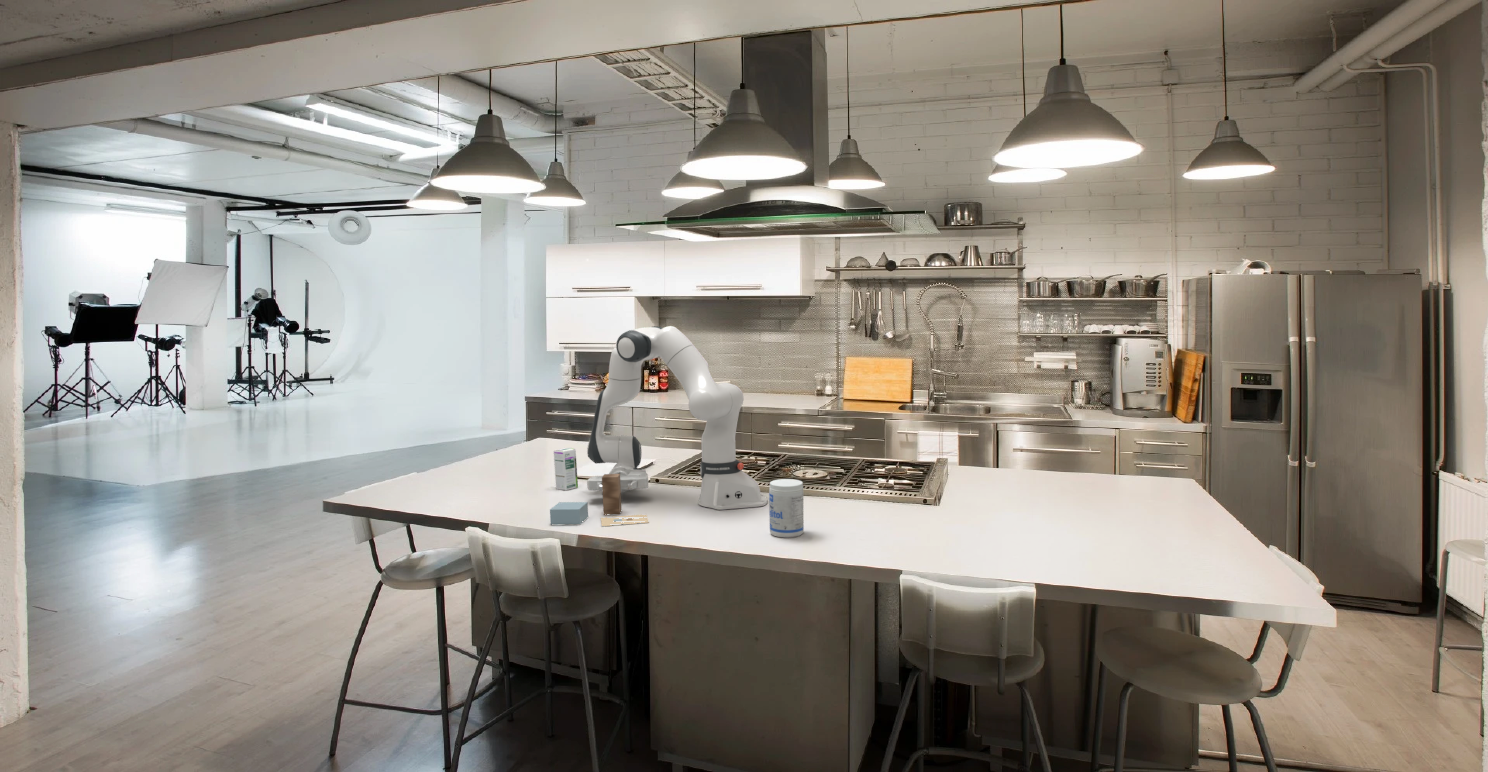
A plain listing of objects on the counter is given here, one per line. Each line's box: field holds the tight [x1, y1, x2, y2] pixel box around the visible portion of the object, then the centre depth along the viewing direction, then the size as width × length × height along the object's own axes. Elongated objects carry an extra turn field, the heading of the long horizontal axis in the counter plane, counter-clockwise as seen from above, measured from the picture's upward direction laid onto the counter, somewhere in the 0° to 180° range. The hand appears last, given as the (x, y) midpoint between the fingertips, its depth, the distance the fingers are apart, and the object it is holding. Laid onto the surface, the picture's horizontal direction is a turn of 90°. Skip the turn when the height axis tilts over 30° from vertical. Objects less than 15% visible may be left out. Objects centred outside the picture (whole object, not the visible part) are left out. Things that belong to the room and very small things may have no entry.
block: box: [601, 473, 623, 516], centre depth 252 cm, size 5×5×12 cm
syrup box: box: [553, 447, 579, 491], centre depth 289 cm, size 6×6×14 cm
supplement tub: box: [768, 478, 805, 539], centre depth 223 cm, size 10×10×15 cm
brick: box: [549, 501, 589, 526], centre depth 244 cm, size 9×9×5 cm
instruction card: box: [600, 514, 650, 527], centre depth 243 cm, size 14×10×1 cm
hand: (615, 487), depth 259 cm, fingers open, 8 cm apart
